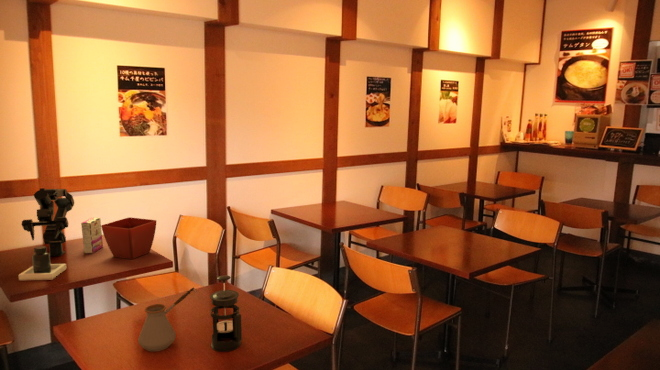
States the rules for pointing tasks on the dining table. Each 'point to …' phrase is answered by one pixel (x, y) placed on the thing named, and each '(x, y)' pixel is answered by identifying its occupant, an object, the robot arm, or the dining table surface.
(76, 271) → the dining table surface
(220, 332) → the french press
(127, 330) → the dining table surface
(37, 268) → the supplement bottle
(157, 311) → the coffee pot
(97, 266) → the dining table surface
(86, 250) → the candy bar box
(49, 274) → the tray
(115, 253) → the plant pot
